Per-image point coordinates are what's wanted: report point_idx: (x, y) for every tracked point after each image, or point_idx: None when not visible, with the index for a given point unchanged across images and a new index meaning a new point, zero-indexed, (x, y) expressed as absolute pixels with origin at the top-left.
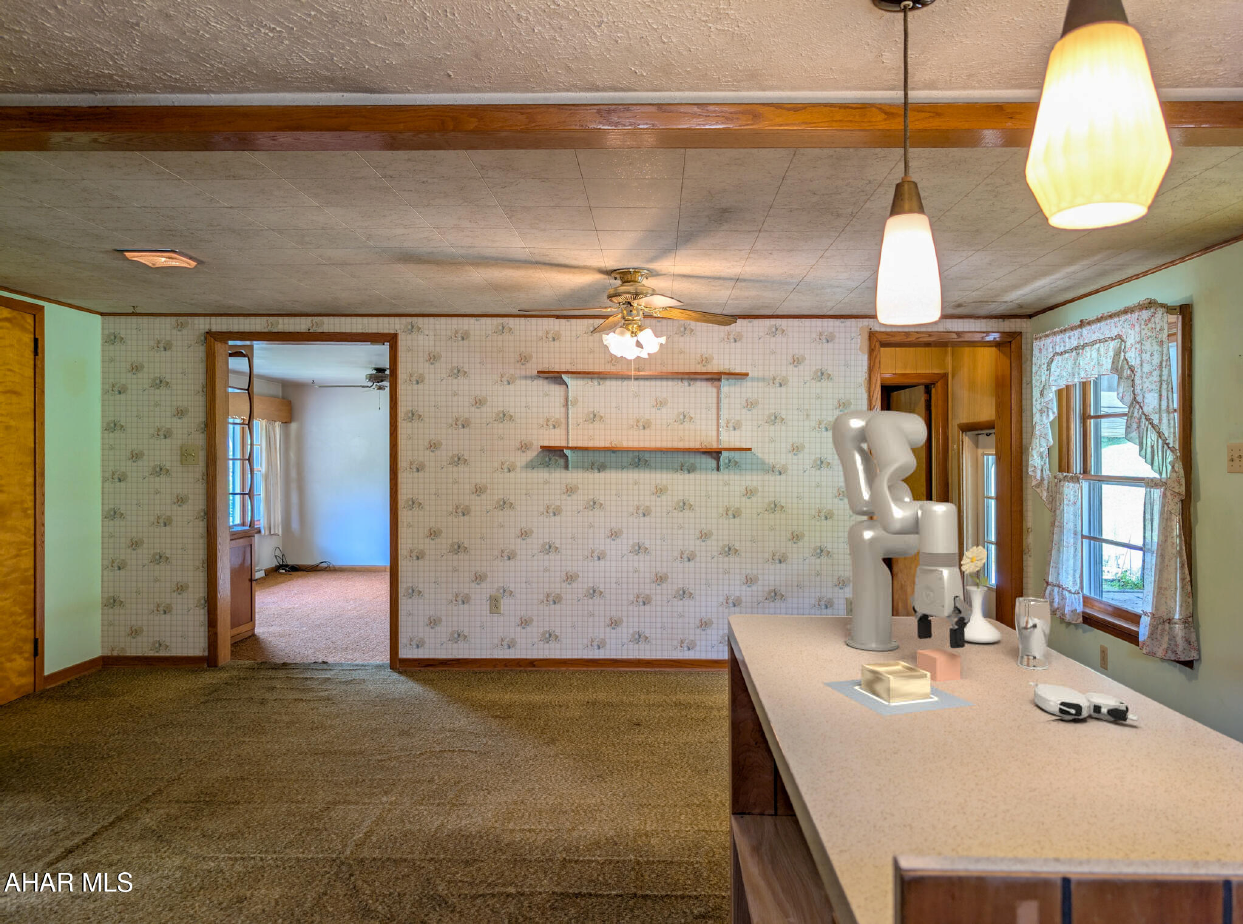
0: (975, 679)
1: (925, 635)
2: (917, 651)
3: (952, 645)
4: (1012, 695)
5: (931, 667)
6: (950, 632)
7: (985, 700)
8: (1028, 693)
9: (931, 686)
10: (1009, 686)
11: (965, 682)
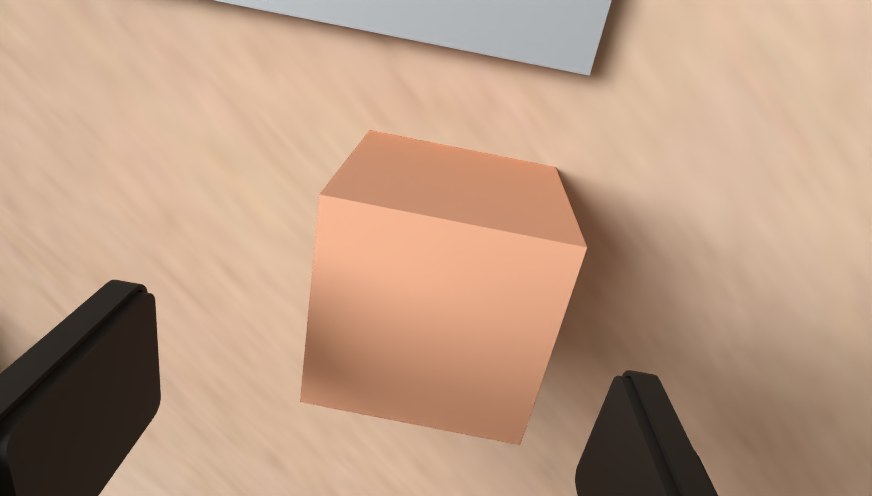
0: None
1: (602, 441)
2: (578, 244)
3: (99, 294)
4: None
5: (400, 173)
6: (12, 389)
7: (67, 156)
8: None
9: (289, 5)
10: (229, 435)
11: None
